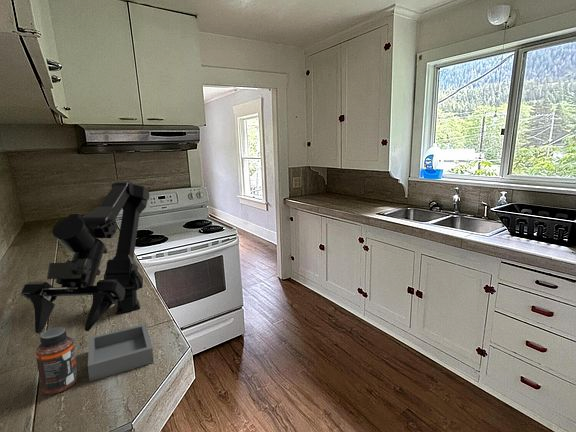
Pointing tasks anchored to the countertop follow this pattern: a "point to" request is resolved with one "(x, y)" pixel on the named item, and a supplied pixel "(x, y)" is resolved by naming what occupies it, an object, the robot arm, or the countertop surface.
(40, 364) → the supplement bottle
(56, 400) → the countertop surface
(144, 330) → the tray
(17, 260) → the countertop surface
